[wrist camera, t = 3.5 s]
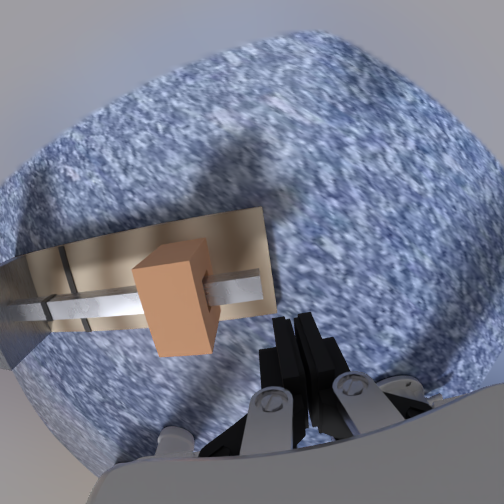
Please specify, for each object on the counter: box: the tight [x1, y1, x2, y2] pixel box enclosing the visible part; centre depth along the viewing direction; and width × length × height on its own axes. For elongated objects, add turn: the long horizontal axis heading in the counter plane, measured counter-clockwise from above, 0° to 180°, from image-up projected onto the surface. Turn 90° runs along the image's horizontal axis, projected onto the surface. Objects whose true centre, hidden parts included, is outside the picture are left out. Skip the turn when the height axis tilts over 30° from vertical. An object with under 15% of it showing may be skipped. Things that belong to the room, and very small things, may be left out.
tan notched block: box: [131, 237, 221, 357], centre depth 21 cm, size 4×7×7 cm, turn 9°
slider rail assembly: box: [0, 255, 263, 371], centre depth 22 cm, size 30×10×10 cm, turn 99°
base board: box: [11, 206, 277, 332], centre depth 26 cm, size 31×10×1 cm, turn 99°
